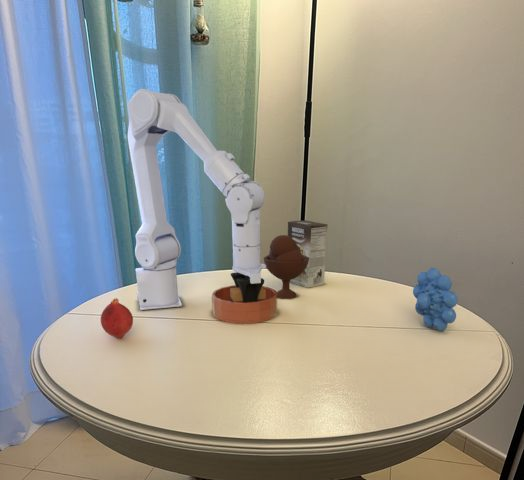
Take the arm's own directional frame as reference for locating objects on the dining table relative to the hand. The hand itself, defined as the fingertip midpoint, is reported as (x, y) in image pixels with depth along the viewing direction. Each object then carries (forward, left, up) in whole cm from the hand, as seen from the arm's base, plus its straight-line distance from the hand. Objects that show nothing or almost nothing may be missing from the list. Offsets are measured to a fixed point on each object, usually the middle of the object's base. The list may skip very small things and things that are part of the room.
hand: (247, 307), depth 98 cm
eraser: (0, 0, -1) cm, 1 cm away
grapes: (+33, -18, -2) cm, 37 cm away
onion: (-27, -6, -2) cm, 28 cm away
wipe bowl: (0, +2, -2) cm, 3 cm away
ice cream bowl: (+13, +12, -2) cm, 18 cm away
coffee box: (+22, +22, -2) cm, 31 cm away
